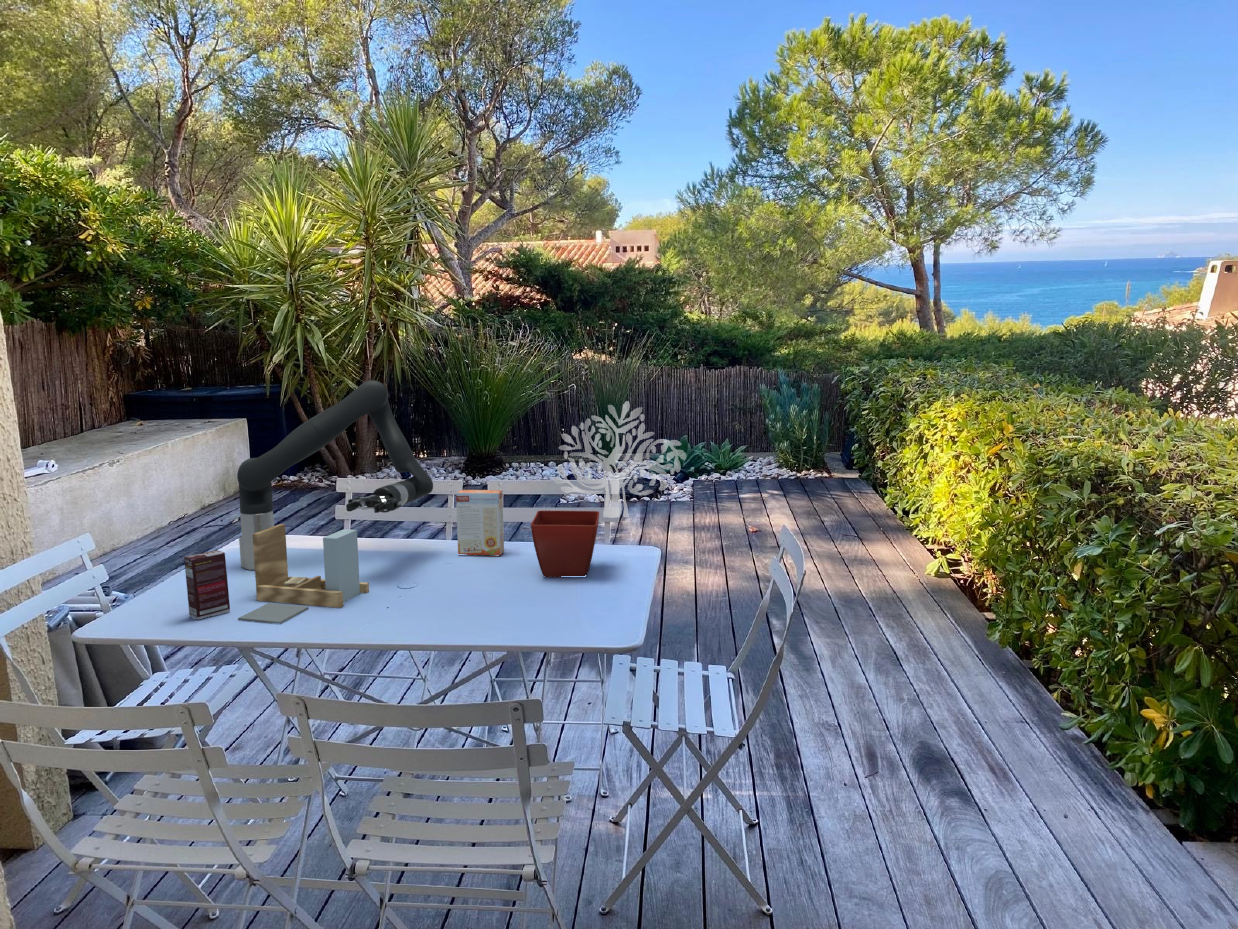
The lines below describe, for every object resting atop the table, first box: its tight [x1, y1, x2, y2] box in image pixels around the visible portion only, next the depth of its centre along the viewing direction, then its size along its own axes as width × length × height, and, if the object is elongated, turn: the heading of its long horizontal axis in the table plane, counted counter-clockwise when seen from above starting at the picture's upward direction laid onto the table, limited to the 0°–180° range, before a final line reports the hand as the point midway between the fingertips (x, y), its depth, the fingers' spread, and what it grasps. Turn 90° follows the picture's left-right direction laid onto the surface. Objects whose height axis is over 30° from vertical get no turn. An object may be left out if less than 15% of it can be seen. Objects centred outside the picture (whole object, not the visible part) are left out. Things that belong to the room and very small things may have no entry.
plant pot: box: [530, 510, 600, 578], centre depth 256 cm, size 19×19×17 cm
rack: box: [252, 523, 370, 609], centre depth 232 cm, size 26×14×18 cm, turn 76°
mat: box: [237, 602, 310, 624], centre depth 218 cm, size 12×12×1 cm
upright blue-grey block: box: [322, 528, 361, 604], centre depth 230 cm, size 4×10×18 cm, turn 166°
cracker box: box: [455, 489, 505, 556], centre depth 275 cm, size 14×6×21 cm, turn 84°
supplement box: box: [183, 549, 231, 620], centre depth 217 cm, size 9×5×16 cm, turn 141°
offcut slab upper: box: [284, 576, 309, 587], centre depth 235 cm, size 4×6×2 cm, turn 178°
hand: (361, 508), depth 239 cm, fingers open, 8 cm apart
